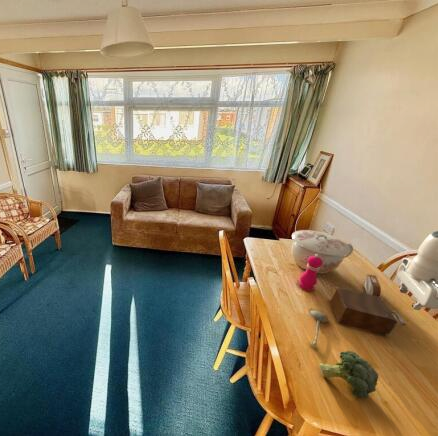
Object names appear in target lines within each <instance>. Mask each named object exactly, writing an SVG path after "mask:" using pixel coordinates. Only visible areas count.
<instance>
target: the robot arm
mask: <svg viewBox="0 0 438 436" xmlns="http://www.w3.org/2000/svg"><path fill="white" fill-rule="evenodd" d="M396 276H397V277H398V279H399V280H400V287H399V289H398V291H399V292H400V293H401V294H407V293H408V292H410V293H411V295H413V297H414V298H415V299H416V302H413V303H412V304H411V308H412V309H413V310H416V311H421V309H422V308H427V309H431V310H437V309H438V230H436V231H432V232H431V233H429V235H427V236H426V237H425V238H424V240H423V241H422V243H421V244H420V246H419V247H418V249H417V254H416V255H415V256H414V257H413V258H411V257H403V258H402V259H401V263H400V264H399V267H398V268H397V270H396Z"/></svg>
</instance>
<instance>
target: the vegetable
mask: <svg viewBox="0 0 438 436" xmlns="http://www.w3.org/2000/svg"><path fill="white" fill-rule="evenodd" d="M339 358H340V359H341V360H340V362H337V363H335V364H334V365H333V364H327V363H324V362H322V361H321V362H320V363H318V367H319V370H320V373H321V375H322V377H323V378H340V379H342V380H344V381H346V382H347V383H348V384H349V386H350V387H351V388H352V389H353V390H352V392H351V393H352V395H353V396H354V397H357V398H359V399H368V398H369V396H370V394H371V393H374V392H376V386H377V385H378V383H377V382H378V379H379V373H378V372H377V370H376V369H375V367H373V366H372V365H371V364H370V362H369V361H368V360H366V359H365V358H363V357H361V356H360V355H359V354H358V353H357V352H356V351H353V350H345V351H340V353H339Z"/></svg>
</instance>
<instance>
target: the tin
mask: <svg viewBox="0 0 438 436" xmlns="http://www.w3.org/2000/svg"><path fill="white" fill-rule="evenodd" d="M363 284H364V285H363V286H364V290H365V293H366V294H370V295H374V296H379V297H381V294H382V287H381V284H380V282H379V280H378V277H377V275H375V274H374V275H373V274H367V275H366V277H365V280H364V283H363Z"/></svg>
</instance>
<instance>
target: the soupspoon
mask: <svg viewBox="0 0 438 436" xmlns="http://www.w3.org/2000/svg"><path fill="white" fill-rule="evenodd" d="M310 315H311V316H312V317H313V318H314V320H316V330H315V335H314V336H315V337H314V340H313V343H312V344H311V347H312V348H315V349H317V348H318V346H317V345H318V343H317V342H318V337H319V333H320V332H319V330H320V324H321V323H326V322H328V321H329V317H328V315H326V314H325V313H323V312H322V311H319V310H315V309H314V310H313V309H312V310H310Z"/></svg>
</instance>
